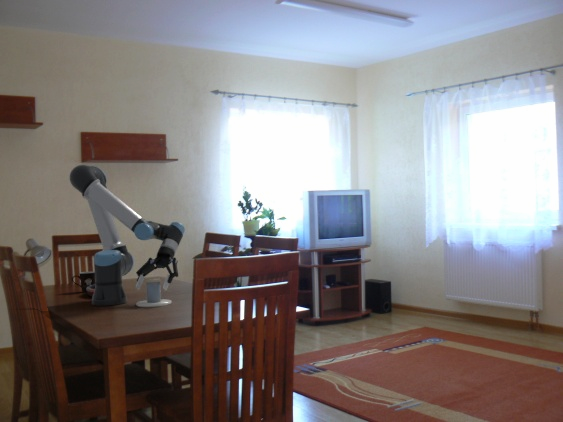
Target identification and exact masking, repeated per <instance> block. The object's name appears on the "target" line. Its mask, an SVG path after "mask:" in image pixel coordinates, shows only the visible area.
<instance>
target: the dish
mask: <svg viewBox="0 0 563 422" xmlns="http://www.w3.org/2000/svg"><path fill="white" fill-rule="evenodd" d="M86 290H87V292H86V293H87V294H88V296H90V297H93V294H94V290H95V284H94V285H90V286H88V287H87V288H86Z"/></svg>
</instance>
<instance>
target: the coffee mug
mask: <svg viewBox="0 0 563 422" xmlns="http://www.w3.org/2000/svg"><path fill="white" fill-rule="evenodd" d="M78 274H79V275H73V276H72V277H71V282H72V283H73V284H75V285H76V286H78V287H80V288H81V293H87V290H86V288H87V287H88V286H90V285H94V284H95V271H82V272H79V273H78ZM75 277H77V278H79V280H80V284H79V283H76V282H75V281H74V278H75Z"/></svg>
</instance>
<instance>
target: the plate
mask: <svg viewBox="0 0 563 422" xmlns="http://www.w3.org/2000/svg"><path fill="white" fill-rule="evenodd" d="M135 303H136V307H140V308H155V307H157V308H158V307H165V306H168V305H171V304H172V300H171V299H165V298H161V302H157V303H147V299H145V300H140V301H137V302H135Z"/></svg>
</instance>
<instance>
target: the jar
mask: <svg viewBox="0 0 563 422" xmlns="http://www.w3.org/2000/svg"><path fill="white" fill-rule="evenodd" d="M161 279H162V278H161V277H156V278H155V277H152V278H151V277H150V278H146V279H145V283H146V286H145V287H146V300H147V303H157V302H161V299H162V291H161V289H162V288H161V282H162V280H161Z"/></svg>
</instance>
